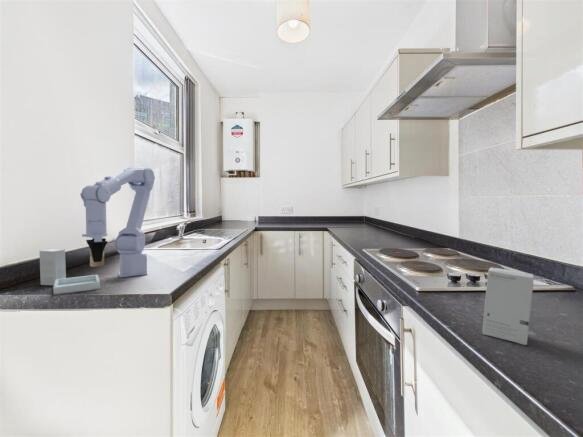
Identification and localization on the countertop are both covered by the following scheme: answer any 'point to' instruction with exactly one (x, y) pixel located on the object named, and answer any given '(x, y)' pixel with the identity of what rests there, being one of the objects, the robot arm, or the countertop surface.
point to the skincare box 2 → (508, 305)
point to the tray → (76, 284)
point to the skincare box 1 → (52, 266)
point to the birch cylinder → (96, 264)
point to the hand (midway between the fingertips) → (97, 260)
